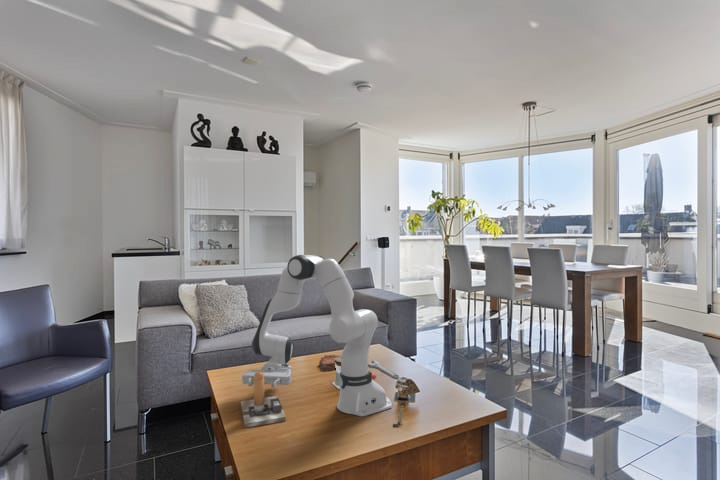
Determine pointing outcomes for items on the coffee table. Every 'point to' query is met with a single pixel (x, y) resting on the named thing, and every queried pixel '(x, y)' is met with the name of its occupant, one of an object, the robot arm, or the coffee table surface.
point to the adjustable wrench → (382, 369)
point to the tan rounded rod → (258, 392)
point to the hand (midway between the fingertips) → (261, 384)
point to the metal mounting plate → (263, 417)
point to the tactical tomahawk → (400, 415)
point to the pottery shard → (327, 362)
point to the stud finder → (275, 405)
